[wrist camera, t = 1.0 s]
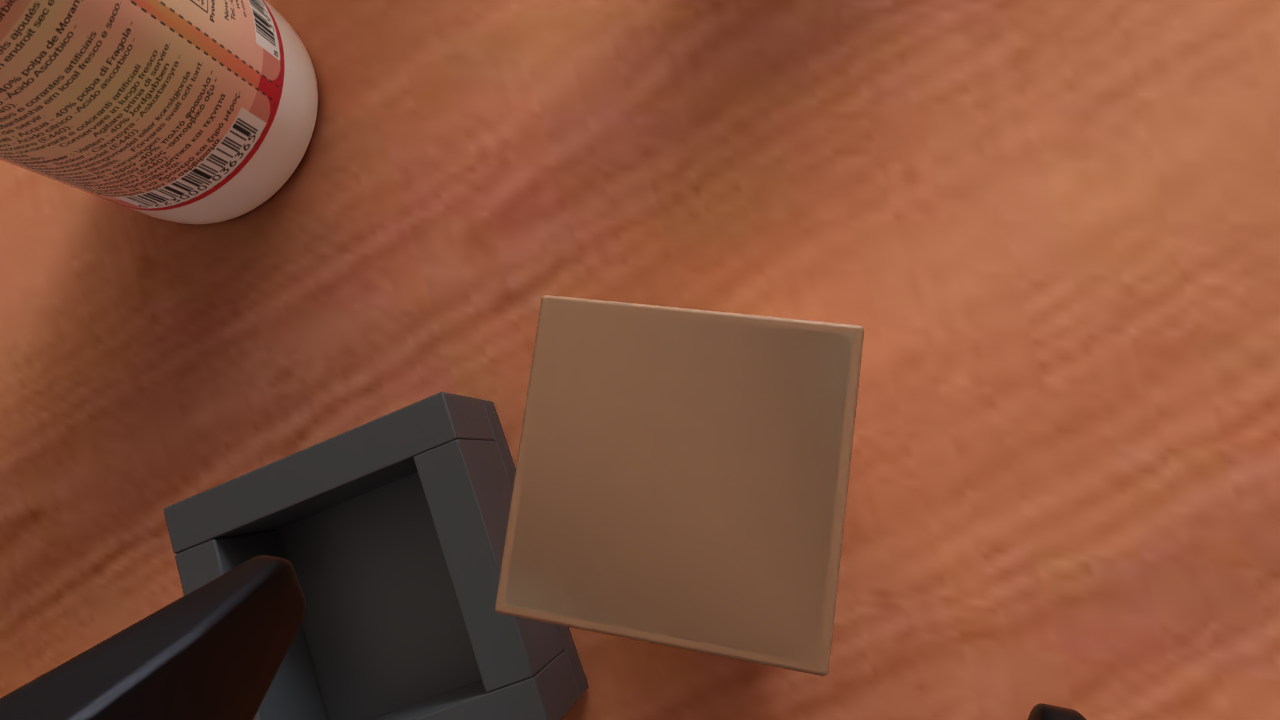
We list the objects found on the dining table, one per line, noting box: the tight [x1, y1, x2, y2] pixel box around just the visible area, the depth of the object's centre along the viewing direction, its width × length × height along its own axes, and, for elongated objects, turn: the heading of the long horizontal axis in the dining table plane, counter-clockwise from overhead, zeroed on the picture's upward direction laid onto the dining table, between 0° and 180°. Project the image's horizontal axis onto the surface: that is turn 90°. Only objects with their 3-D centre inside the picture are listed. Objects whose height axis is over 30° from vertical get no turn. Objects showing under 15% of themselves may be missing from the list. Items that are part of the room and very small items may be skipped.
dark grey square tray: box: [164, 392, 588, 720], centre depth 24 cm, size 10×10×4 cm
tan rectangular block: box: [495, 295, 864, 676], centre depth 18 cm, size 5×5×13 cm
